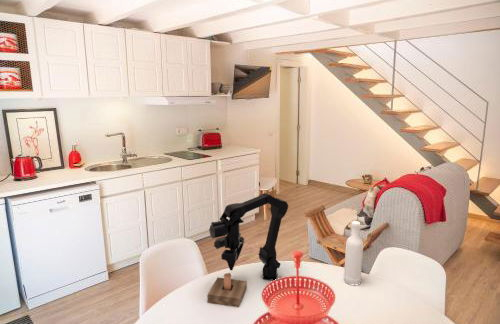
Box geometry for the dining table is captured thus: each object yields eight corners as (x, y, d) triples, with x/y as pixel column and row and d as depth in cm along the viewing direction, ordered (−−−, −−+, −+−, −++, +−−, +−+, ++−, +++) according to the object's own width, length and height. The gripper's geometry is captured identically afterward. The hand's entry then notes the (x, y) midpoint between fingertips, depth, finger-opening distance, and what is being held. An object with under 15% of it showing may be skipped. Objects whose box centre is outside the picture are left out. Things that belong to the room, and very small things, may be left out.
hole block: (246, 288, 153) (246, 281, 152) (239, 307, 139) (239, 298, 139) (217, 285, 156) (217, 277, 155) (207, 302, 142) (207, 294, 142)
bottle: (341, 282, 159) (345, 223, 153) (346, 275, 165) (349, 218, 160) (358, 287, 154) (362, 226, 149) (362, 279, 161) (366, 221, 155)
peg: (231, 294, 149) (231, 273, 147) (230, 297, 146) (229, 277, 144) (225, 293, 149) (225, 272, 148) (223, 297, 147) (223, 276, 145)
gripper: (221, 224, 159) (222, 254, 162) (209, 240, 141) (210, 274, 144) (244, 225, 156) (244, 256, 159) (234, 242, 138) (235, 276, 142)
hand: (233, 265), depth 151 cm, fingers open, 9 cm apart
